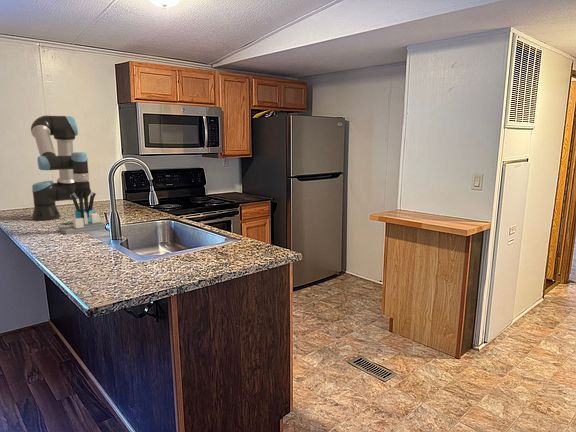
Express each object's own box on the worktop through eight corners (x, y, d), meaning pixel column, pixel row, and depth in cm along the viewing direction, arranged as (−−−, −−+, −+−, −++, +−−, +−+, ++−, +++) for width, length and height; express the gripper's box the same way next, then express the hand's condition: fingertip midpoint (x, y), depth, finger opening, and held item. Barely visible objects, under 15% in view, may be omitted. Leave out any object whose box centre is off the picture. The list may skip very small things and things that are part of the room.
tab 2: (90, 222, 235) (89, 213, 234) (97, 221, 238) (96, 213, 237) (92, 223, 233) (91, 214, 232) (99, 222, 235) (99, 213, 234)
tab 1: (73, 227, 222) (72, 218, 221) (81, 226, 225) (80, 217, 224) (76, 228, 219) (75, 219, 218) (83, 227, 222) (83, 218, 221)
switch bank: (58, 230, 225) (57, 226, 225) (106, 223, 243) (105, 219, 242) (66, 234, 215) (65, 230, 215) (115, 227, 233) (115, 223, 233)
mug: (78, 225, 239) (77, 211, 238) (74, 223, 245) (73, 209, 244) (99, 222, 247) (98, 209, 246) (95, 220, 253) (94, 207, 252)
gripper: (70, 182, 213) (75, 226, 217) (96, 180, 222) (100, 223, 226) (66, 181, 218) (70, 224, 222) (91, 179, 227) (95, 221, 231)
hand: (85, 223), depth 224 cm, fingers closed
